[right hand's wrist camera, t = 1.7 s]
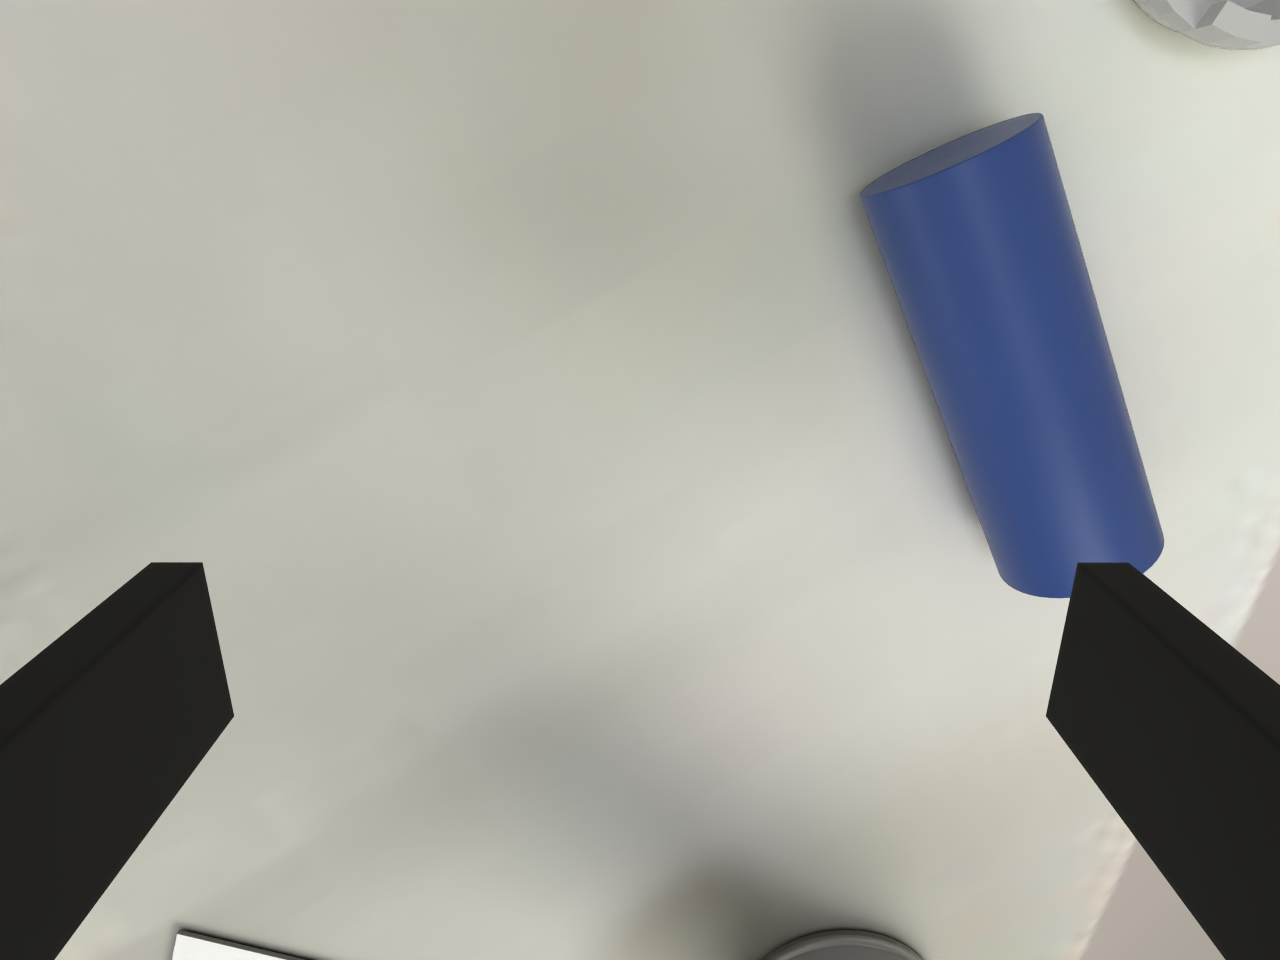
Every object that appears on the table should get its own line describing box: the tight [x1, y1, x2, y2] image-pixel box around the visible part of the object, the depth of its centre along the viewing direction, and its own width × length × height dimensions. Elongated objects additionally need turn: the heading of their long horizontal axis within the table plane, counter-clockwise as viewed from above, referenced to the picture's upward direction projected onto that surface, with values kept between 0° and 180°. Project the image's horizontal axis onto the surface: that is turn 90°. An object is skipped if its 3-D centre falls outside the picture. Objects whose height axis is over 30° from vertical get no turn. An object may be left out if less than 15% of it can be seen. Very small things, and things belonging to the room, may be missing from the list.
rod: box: [860, 113, 1164, 598], centre depth 43 cm, size 23×8×8 cm, turn 26°
